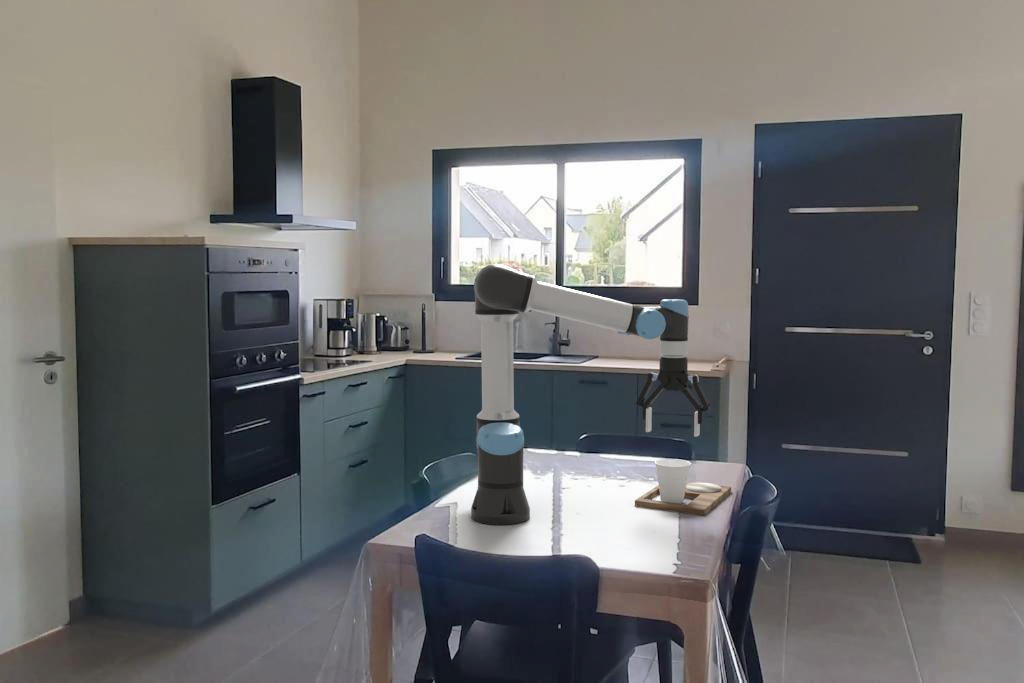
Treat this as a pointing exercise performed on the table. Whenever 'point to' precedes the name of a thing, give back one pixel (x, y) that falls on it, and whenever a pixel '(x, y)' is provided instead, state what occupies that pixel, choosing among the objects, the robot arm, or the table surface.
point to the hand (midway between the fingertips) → (672, 433)
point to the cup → (672, 479)
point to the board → (700, 492)
